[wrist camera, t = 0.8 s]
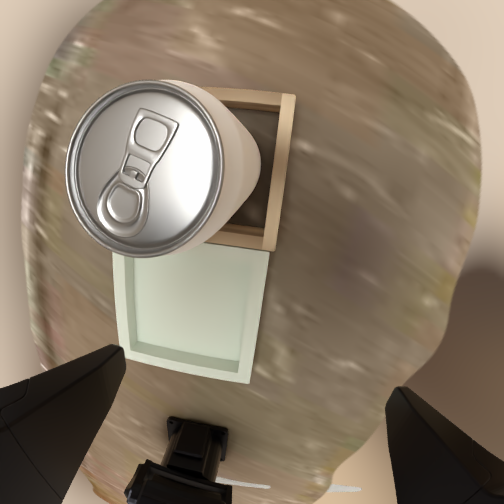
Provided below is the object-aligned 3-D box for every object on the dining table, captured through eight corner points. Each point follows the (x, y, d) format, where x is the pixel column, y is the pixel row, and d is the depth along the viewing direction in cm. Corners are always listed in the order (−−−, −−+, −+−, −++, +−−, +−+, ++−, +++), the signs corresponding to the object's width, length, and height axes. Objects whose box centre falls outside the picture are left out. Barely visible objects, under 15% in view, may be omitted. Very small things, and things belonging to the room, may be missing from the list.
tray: (251, 368, 24) (249, 383, 22) (130, 343, 25) (121, 356, 23) (270, 243, 21) (269, 252, 19) (125, 223, 21) (112, 230, 19)
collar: (275, 241, 21) (274, 251, 18) (145, 223, 21) (130, 231, 19) (293, 103, 18) (296, 95, 16) (157, 94, 18) (142, 87, 16)
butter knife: (172, 463, 30) (172, 473, 31) (367, 484, 30) (358, 493, 30) (174, 460, 31) (173, 470, 31) (366, 481, 30) (357, 491, 31)
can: (155, 187, 20) (39, 219, 9) (193, 104, 18) (99, 48, 7) (235, 227, 21) (185, 306, 9) (278, 143, 19) (281, 112, 7)
